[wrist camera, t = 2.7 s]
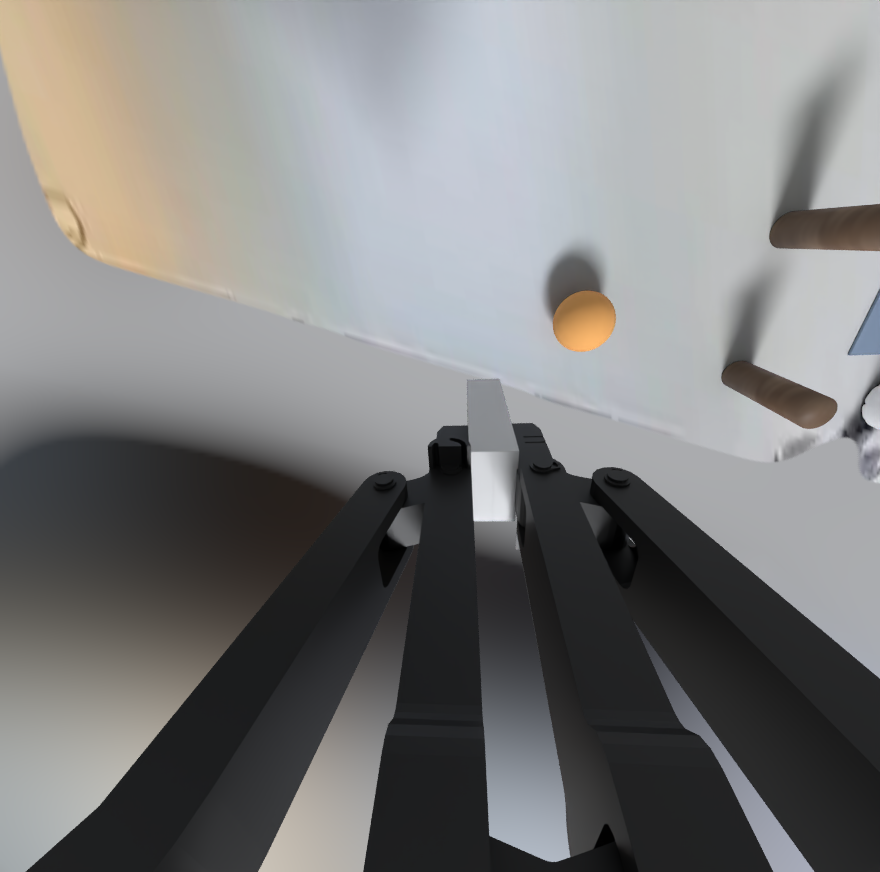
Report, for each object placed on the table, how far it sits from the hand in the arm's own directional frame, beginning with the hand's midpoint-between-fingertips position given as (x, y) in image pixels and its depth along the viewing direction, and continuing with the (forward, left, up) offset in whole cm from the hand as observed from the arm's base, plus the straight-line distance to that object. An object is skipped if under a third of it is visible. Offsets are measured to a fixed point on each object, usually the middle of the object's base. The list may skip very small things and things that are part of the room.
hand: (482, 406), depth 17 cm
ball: (0, +9, -17) cm, 19 cm away
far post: (+6, +25, -19) cm, 32 cm away
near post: (-6, +25, -19) cm, 32 cm away
